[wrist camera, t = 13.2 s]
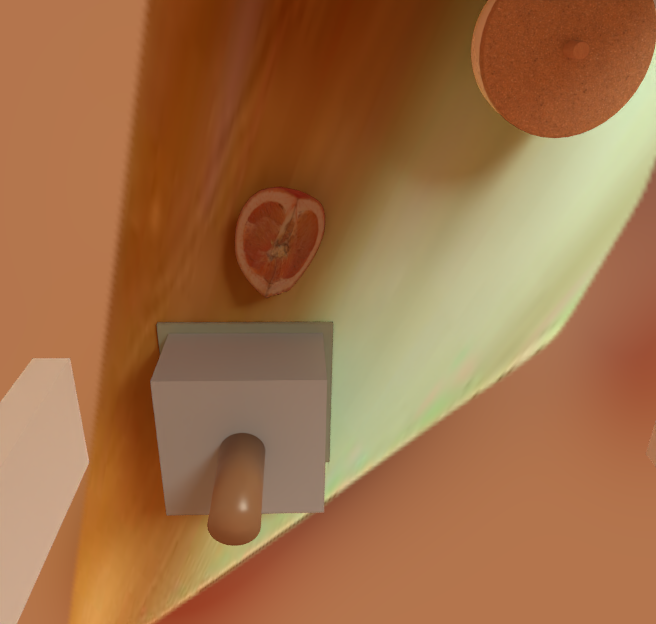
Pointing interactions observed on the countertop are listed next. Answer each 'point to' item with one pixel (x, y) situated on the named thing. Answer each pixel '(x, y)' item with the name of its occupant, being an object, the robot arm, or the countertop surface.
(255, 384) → the cover
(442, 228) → the countertop surface
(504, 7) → the lidded jar
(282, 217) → the fruit slice
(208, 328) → the mat
